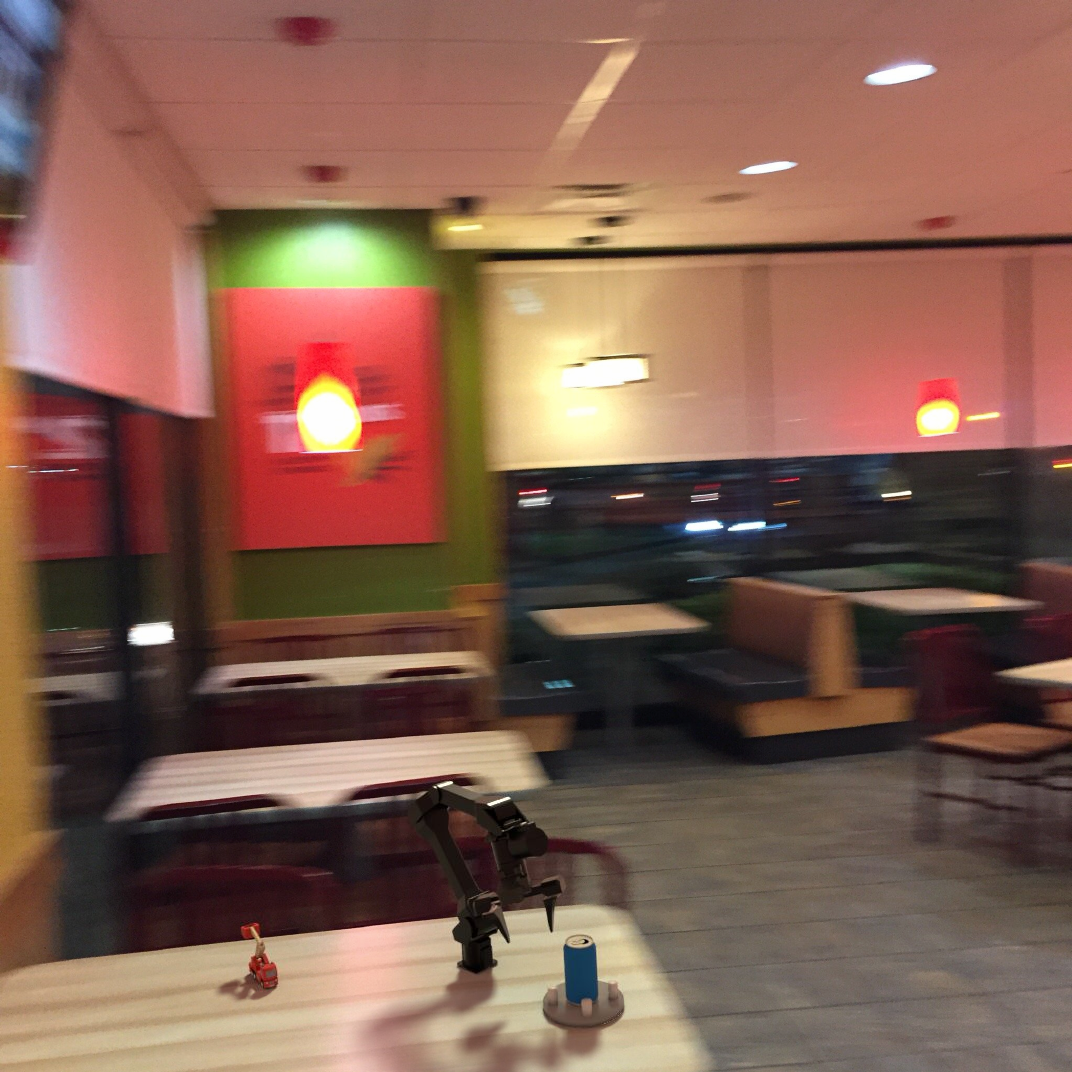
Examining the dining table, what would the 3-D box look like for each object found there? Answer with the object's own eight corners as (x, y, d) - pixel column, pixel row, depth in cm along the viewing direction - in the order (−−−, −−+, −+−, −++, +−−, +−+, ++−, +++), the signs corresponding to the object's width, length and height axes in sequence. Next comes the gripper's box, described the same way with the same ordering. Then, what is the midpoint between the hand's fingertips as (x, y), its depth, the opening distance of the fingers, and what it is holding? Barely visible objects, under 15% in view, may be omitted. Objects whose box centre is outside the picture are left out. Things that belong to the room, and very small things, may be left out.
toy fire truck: (264, 991, 218) (261, 946, 217) (243, 966, 229) (240, 924, 229) (280, 986, 220) (277, 942, 219) (258, 962, 231) (255, 920, 231)
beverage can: (602, 1004, 204) (599, 945, 203) (571, 1010, 202) (568, 950, 201) (593, 988, 210) (590, 931, 209) (562, 994, 208) (559, 936, 208)
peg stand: (526, 1010, 205) (525, 990, 205) (576, 977, 217) (575, 957, 217) (591, 1036, 195) (590, 1015, 194) (640, 1000, 207) (639, 980, 207)
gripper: (457, 879, 207) (477, 959, 204) (546, 856, 204) (568, 936, 202) (471, 868, 218) (490, 944, 215) (555, 846, 215) (576, 922, 213)
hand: (530, 937), depth 211 cm, fingers open, 9 cm apart
